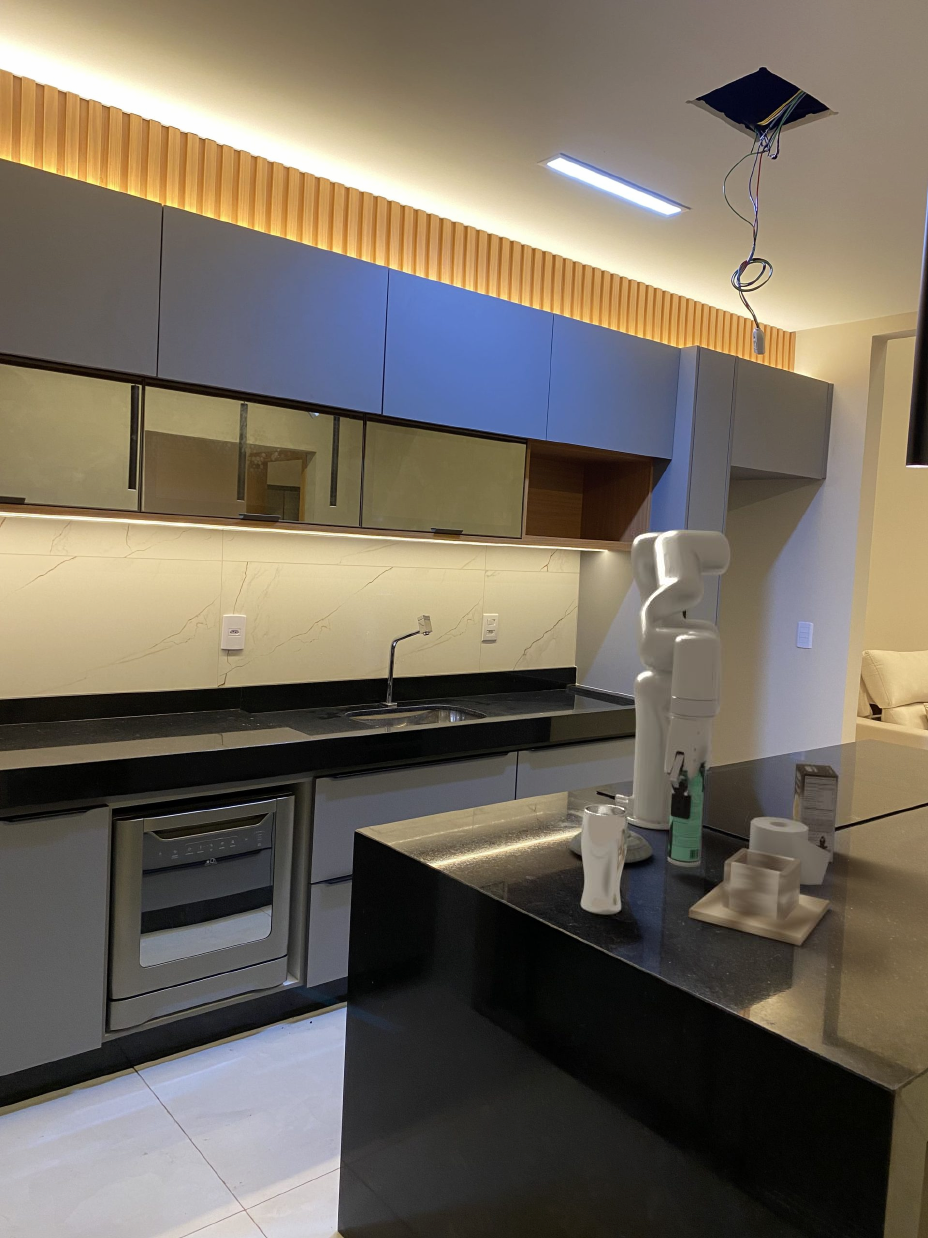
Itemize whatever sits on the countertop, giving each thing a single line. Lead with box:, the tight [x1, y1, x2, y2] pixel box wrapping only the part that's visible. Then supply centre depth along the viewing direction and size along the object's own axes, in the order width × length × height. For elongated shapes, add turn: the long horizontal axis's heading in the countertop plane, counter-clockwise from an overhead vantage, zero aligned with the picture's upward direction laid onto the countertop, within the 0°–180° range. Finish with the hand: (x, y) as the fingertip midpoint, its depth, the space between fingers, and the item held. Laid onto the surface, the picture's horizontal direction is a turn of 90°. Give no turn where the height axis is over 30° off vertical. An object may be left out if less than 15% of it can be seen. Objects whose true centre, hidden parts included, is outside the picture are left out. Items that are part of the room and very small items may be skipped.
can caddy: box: [688, 847, 830, 946], centre depth 137 cm, size 16×18×8 cm
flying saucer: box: [568, 829, 654, 864], centre depth 163 cm, size 15×15×6 cm
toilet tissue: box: [748, 816, 831, 885], centre depth 155 cm, size 9×13×9 cm
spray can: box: [667, 761, 707, 868], centre depth 152 cm, size 6×6×20 cm
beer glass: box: [580, 803, 629, 915], centre depth 136 cm, size 7×7×15 cm
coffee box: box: [792, 763, 840, 863], centre depth 168 cm, size 9×6×16 cm
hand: (686, 812), depth 152 cm, fingers closed on spray can, 5 cm apart
